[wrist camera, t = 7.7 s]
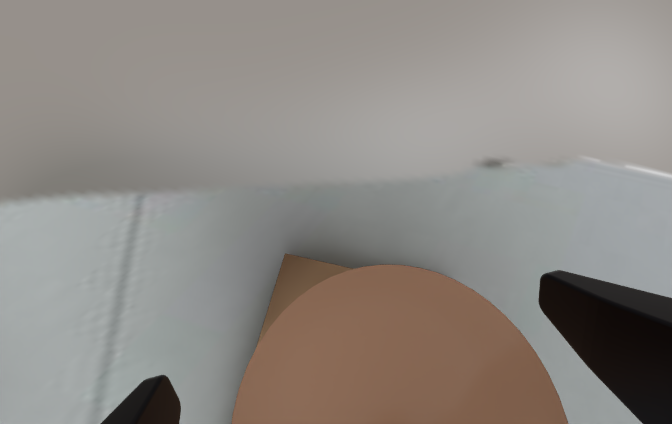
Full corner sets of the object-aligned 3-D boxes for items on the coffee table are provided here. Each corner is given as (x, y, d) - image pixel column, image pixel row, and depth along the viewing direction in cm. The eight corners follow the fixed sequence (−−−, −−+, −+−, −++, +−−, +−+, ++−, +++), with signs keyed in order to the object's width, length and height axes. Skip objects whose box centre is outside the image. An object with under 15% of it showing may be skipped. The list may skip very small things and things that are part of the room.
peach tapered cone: (431, 364, 16) (621, 384, 5) (373, 474, 14) (488, 839, 4) (343, 302, 18) (353, 214, 7) (280, 395, 16) (154, 482, 5)
